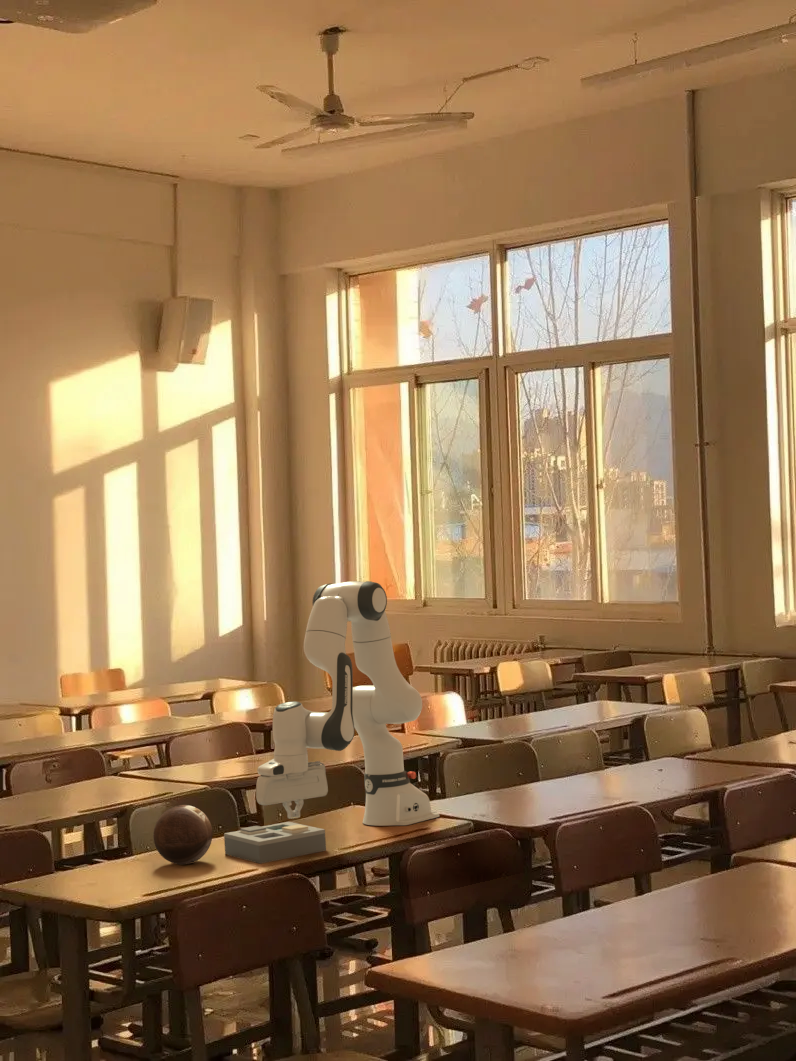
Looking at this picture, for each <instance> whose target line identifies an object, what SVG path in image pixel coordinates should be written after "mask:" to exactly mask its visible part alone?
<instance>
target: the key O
mask: <svg viewBox="0 0 796 1061" xmlns="http://www.w3.org/2000/svg"><path fill="white" fill-rule="evenodd" d="M239 831H240V833H242V834H246V835H253V834H259V833H264V832H266V828H265V827H262V826H260V825H253V826H252V825H251V826H248V827H241V828H240V829H239Z"/></svg>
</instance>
